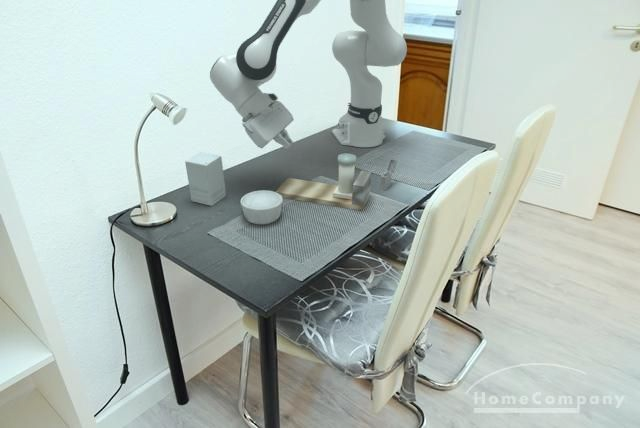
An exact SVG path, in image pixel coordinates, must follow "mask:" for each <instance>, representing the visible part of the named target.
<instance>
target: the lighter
mask: <svg viewBox="0 0 640 428" xmlns="http://www.w3.org/2000/svg"><path fill="white" fill-rule="evenodd" d="M397 163H398V160H397V159H394V158H390V159H389V162H388V166H387V170H385V171H383V174H382V175H380V182H379V183H380V184H379V189H380V190H381V191H387V189H389V188H390V187H391V186H392V185H391V183H392V174H394V173H395V169H396V166H397Z"/></svg>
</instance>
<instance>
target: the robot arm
mask: <svg viewBox="0 0 640 428" xmlns="http://www.w3.org/2000/svg"><path fill="white" fill-rule="evenodd" d="M321 1H322V0H276V1H275V3H274V5H273V6H272V9H271V10H270V12H269V13H268V14H267V16H266V18H265V19H264V21H263V23H262V24H261V26H260V28H259V29H258V30H257V31H256V33H254V34H253V35H251V36H250V37H249V38H247V39H246V40H244V41H243V42H242V43H241V44H240V45H239V47H238V49H237V52H236V53H234V54H229V55H226V54H223V55H222V56H220V57H218V58H217V59H216V61H215V62H214V64H213V65H212V67H211V69H210V72H209V78H210V81H211V83H212V84H213V86H214V88H216V90H217V91H218V92H219V94H221V96H222V97H223V98H224V99H225V100H226V101H227V102H229V103H231V105H232V106H233V107H234V109H235V111H236V112H237V113H238V114H239V115H240V116H241V117H242V119H241V121H242V122H241V123H242V127H243V128H244V131H245V133H246V135H247V136H248V137H249V139H250V140H251V141H252V142H253V144H254V145H255V146H256V147H257V148H260V149H263V148H265V147H266V146H267V145H268V144H269V143H270V142H271V141H274V142H275V143H277V144H279V145H281V146H283V148H284V149H286V150H287V149H288V148H289V147H290V146H292V145H293V144H294V141H293V140H292V139H291V137H290V135H289V133H288V130H287V129H286V128H287V127H288V126H289V125H291V123H292V122H294V120H295V119H294V117H293V114H292V113H291V111H289V109H288V108H287V107H286V106H285V105H284V104H283V103H282V102H281V101H279V97H278V95H276V94H275V93H274V92H273V93H269V92H268V93H267V92H263V91H262V90H261V89H260V88H259V87H260V86H262V85H264V84H265V83H268V82H270V80H271V79H272V78H273V77H274V76H275V74H276V71H277V59H278V51H279V49H280V45H281V44H282V42H283V41H284V40H285V38H286V36H287V34H288V32H290V30H291V28H292V26H293V24H294V23H295V21H297V19H299V18H300V17H301V16H304V15H308V14H311V12H313V11H314V9H316V8H317V6H318V4H319V3H320V2H321ZM349 6H350V17H351V19H352V21H353V22H354V23H355V24H356V25H357V26H358V27H359V28H362V30H347V31H340V32H338V33H337V34H336V35H335V37H334V39H333V40H332V44H331V50H332V54H333V58H334V59H335V60H336V61H337V62H338V63H339V64H340V65H341V66H342V67H343V68H344V69H345V71H346V74H347V75H348V78H349V79H348V80H349V83H350V84H349V85H350V102H348V103H347V107H348V108H347V112H346V113H345V114H344V115H342V116H341V117H340V118H339V119H338V122H337V127H336V128H333V129H332V130H331V133H332V134H333V136H334V137H335V139H337V141H338V142H339V143H340V144H341V145H342V146H352V147H356V148H374V147H377V146H380V145H382V143H383V141H384V140H385V139H386V135H385V134H384V118H383V117H382V111H383V105H382V95H383V84H382V81H381V80H380V79H379V77H377V76H375V75H373V74H372V73H371V72H370V70H369V68H368V66H370V67H382V68H388V67H394V66H400V65H401V63H403V61H404V60H405V58H406V56H407V51H408V47H407V42H406V39H405V37H404V36H402V35H401V34H400V33H398V32H397V31H396V29H395V28H394V27H393V26H392V24H391V22H390V20H389V18H388V15H387V8H386V7H387V6H386V0H349ZM363 30H364V31H363Z"/></svg>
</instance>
